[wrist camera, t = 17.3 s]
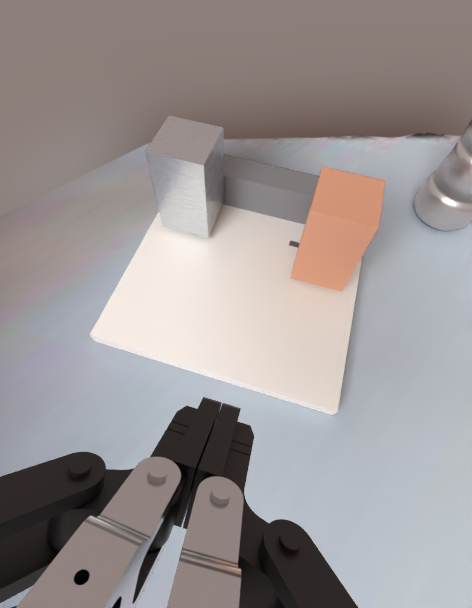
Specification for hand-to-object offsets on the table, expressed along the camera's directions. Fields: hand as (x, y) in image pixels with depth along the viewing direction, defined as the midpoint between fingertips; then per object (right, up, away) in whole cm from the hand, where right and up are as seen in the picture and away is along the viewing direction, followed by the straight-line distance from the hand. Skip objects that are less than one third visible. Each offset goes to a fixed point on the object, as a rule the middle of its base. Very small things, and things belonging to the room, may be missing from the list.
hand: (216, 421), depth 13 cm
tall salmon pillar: (+9, +8, +21) cm, 24 cm away
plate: (+2, +7, +22) cm, 23 cm away
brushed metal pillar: (-4, +14, +23) cm, 27 cm away
